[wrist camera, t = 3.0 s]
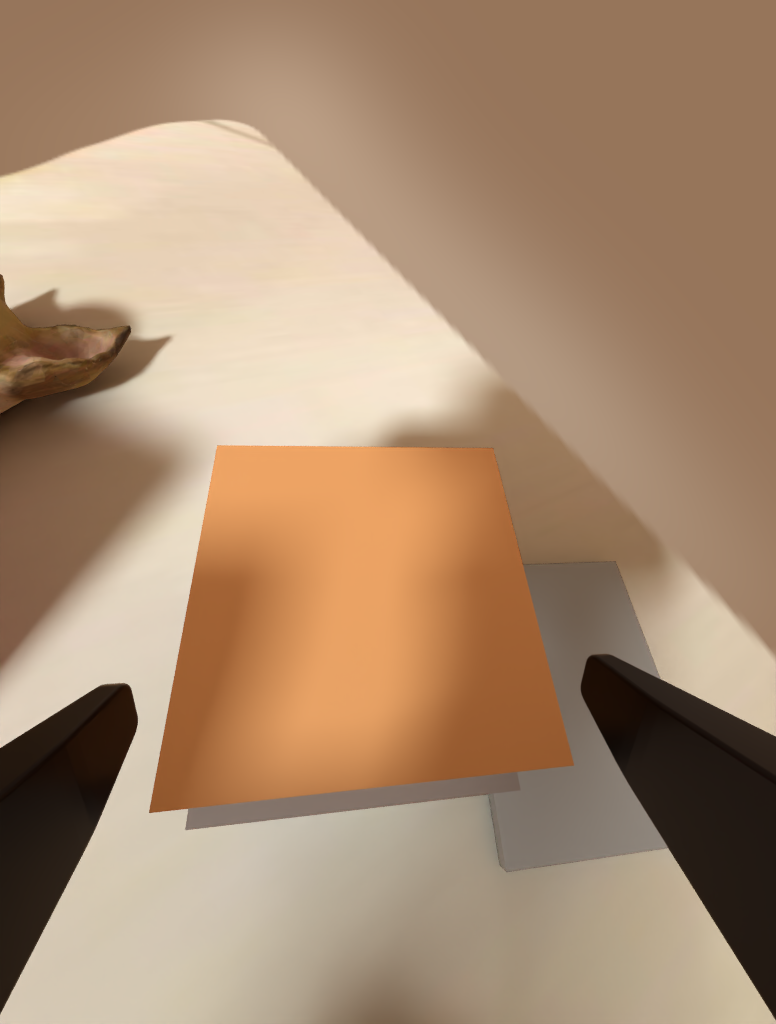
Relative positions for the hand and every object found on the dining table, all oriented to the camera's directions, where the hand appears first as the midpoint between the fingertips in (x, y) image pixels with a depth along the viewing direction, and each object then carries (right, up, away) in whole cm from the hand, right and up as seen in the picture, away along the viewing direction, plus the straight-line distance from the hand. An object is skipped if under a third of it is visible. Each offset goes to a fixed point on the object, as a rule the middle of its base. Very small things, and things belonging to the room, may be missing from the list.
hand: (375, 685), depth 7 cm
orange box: (-1, -3, +8) cm, 9 cm away
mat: (+8, -4, +9) cm, 13 cm away
